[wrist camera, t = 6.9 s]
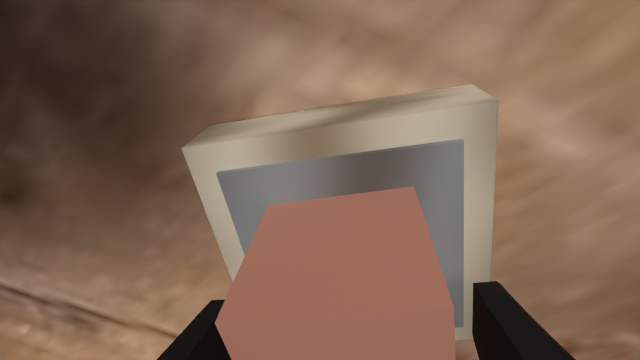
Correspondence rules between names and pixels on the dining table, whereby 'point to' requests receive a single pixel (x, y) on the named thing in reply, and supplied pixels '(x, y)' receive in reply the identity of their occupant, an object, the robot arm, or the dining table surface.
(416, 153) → the base
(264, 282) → the block
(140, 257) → the dining table surface
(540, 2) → the dining table surface
